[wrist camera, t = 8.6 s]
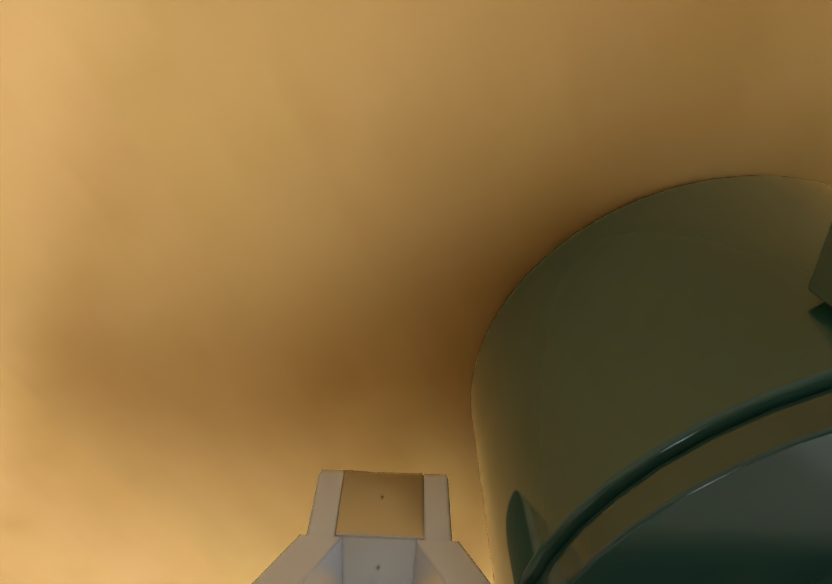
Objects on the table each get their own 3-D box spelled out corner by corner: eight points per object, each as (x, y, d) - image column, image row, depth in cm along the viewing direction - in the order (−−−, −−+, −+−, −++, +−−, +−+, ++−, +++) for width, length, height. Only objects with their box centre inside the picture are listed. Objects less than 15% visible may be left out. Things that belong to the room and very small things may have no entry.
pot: (477, 102, 11) (582, 293, 4) (1067, 83, 11) (2151, 248, 4) (466, 570, 19) (497, 914, 12) (818, 561, 19) (1060, 904, 12)
